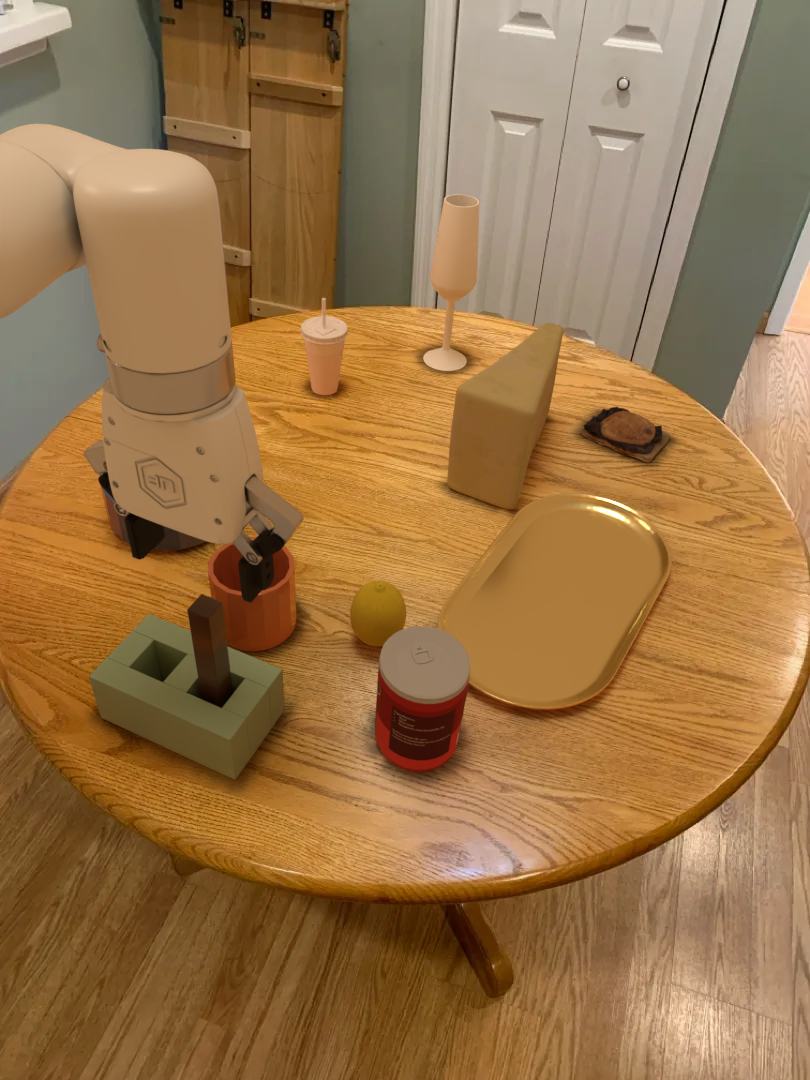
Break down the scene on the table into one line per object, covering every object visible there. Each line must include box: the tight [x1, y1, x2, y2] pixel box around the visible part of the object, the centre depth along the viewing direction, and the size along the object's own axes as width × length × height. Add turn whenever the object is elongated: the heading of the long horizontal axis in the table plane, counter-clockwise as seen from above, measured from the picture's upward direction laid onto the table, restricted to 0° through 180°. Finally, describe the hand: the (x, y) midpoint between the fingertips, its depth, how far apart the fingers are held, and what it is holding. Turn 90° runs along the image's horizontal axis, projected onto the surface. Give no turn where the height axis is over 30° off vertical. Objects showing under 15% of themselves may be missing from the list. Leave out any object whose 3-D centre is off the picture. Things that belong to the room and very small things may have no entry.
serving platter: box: [437, 493, 673, 711], centre depth 92 cm, size 19×35×2 cm, turn 149°
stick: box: [186, 593, 233, 708], centre depth 72 cm, size 2×2×16 cm
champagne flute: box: [422, 193, 480, 372], centre depth 121 cm, size 7×7×24 cm
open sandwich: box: [579, 406, 671, 464], centre depth 115 cm, size 11×8×4 cm
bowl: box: [100, 485, 207, 552], centre depth 97 cm, size 14×14×6 cm
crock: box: [207, 536, 297, 652], centre depth 84 cm, size 8×8×8 cm
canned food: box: [374, 625, 470, 773], centre depth 74 cm, size 8×8×11 cm
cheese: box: [446, 322, 564, 510], centre depth 106 cm, size 22×10×15 cm, turn 152°
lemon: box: [349, 580, 407, 647], centre depth 83 cm, size 6×6×8 cm
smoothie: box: [300, 297, 349, 396], centre depth 116 cm, size 6×6×14 cm
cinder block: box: [88, 613, 286, 781], centre depth 76 cm, size 8×14×6 cm, turn 65°
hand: (202, 568), depth 64 cm, fingers open, 9 cm apart
